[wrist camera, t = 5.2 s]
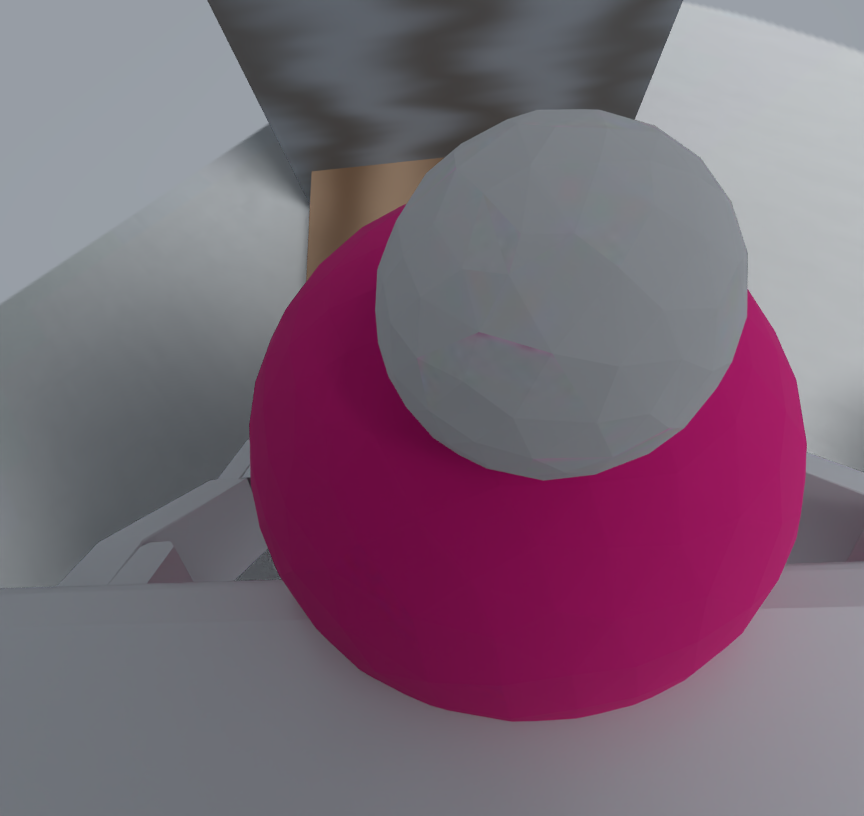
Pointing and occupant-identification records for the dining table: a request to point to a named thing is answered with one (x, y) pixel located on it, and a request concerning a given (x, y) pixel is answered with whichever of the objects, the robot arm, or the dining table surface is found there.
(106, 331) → the dining table surface
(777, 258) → the dining table surface
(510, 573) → the pepper mill
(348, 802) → the robot arm
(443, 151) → the ledge shelf
